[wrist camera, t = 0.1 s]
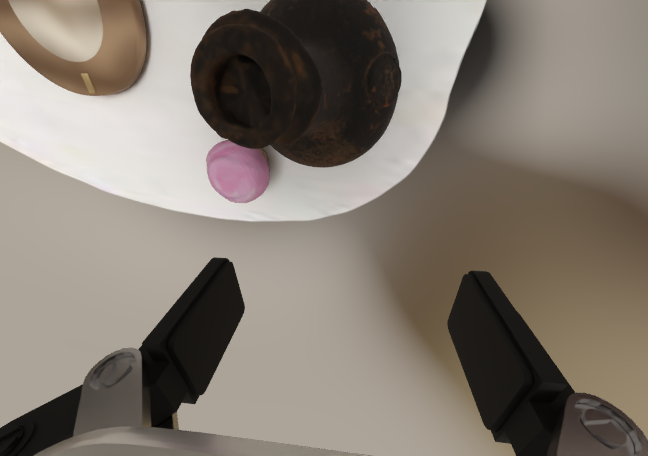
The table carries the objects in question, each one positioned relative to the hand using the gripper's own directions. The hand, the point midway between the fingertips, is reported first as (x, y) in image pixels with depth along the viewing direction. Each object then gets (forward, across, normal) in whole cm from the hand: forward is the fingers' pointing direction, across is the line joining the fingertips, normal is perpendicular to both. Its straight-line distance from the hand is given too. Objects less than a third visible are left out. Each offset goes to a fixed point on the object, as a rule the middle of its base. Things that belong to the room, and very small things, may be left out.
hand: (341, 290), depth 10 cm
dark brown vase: (+31, +4, -7) cm, 32 cm away
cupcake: (+31, +16, +3) cm, 35 cm away
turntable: (+31, +37, -17) cm, 51 cm away
